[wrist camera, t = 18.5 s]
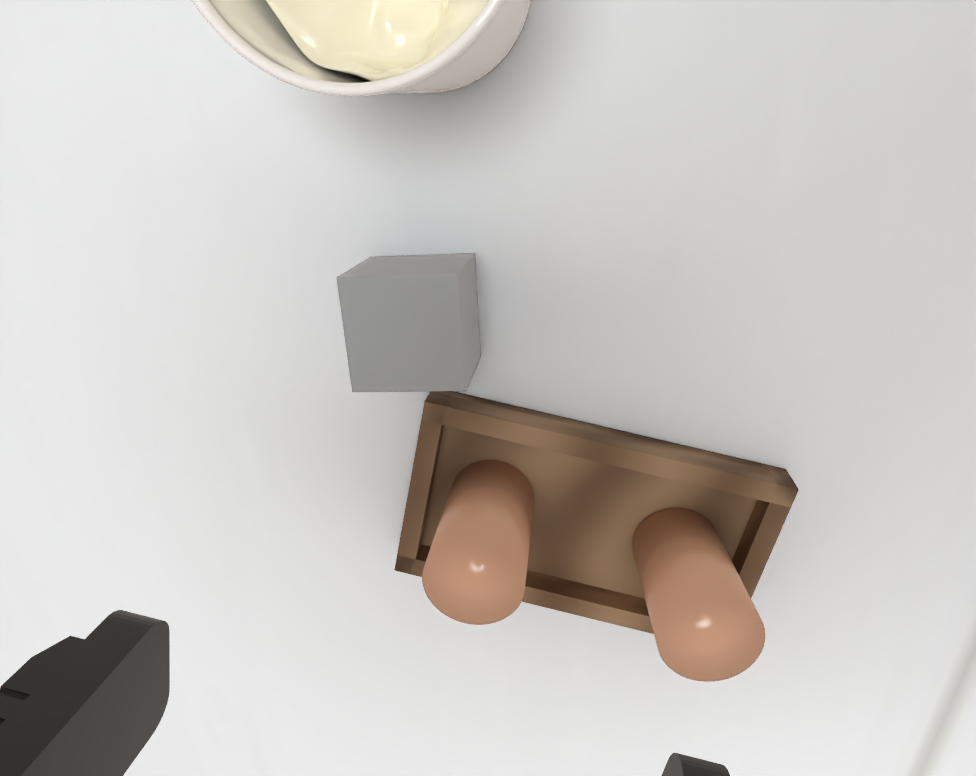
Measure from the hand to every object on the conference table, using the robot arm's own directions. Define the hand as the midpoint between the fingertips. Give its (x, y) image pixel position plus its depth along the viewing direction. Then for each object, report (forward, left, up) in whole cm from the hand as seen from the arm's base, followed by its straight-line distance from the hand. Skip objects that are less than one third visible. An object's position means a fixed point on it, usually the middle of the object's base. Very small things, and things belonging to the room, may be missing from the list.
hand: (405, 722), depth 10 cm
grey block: (+5, 0, -23) cm, 24 cm away
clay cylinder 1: (-1, +9, -23) cm, 24 cm away
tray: (-5, +9, -23) cm, 25 cm away
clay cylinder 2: (-10, +9, -22) cm, 26 cm away
